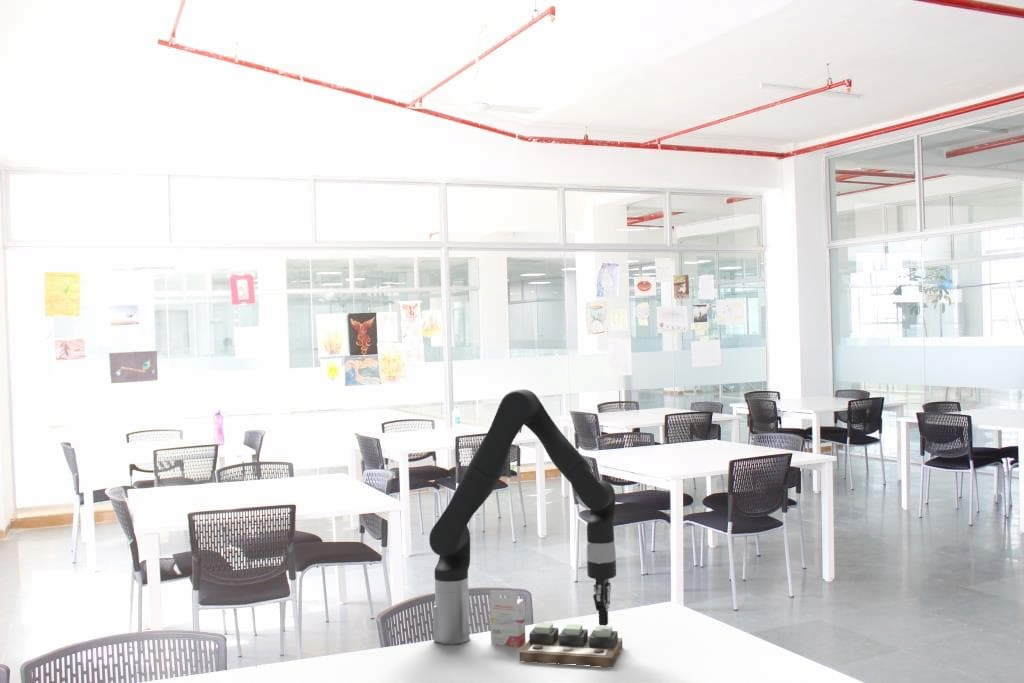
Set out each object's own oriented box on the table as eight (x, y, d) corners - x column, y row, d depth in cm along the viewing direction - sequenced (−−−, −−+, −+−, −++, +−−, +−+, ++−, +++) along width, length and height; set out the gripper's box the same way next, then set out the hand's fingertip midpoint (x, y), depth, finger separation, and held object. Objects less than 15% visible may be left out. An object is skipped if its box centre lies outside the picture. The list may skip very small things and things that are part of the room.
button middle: (564, 636, 245) (564, 628, 245) (567, 631, 249) (567, 624, 249) (579, 637, 244) (579, 629, 244) (582, 632, 248) (582, 625, 248)
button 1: (534, 634, 247) (534, 627, 247) (538, 630, 251) (538, 622, 251) (549, 635, 246) (549, 627, 246) (553, 630, 250) (552, 623, 250)
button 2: (594, 638, 243) (594, 630, 243) (597, 633, 246) (597, 625, 246) (609, 638, 242) (609, 631, 242) (612, 634, 245) (612, 626, 245)
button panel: (519, 661, 239) (519, 642, 239) (535, 642, 255) (534, 624, 255) (612, 667, 233) (611, 647, 233) (622, 647, 248) (621, 628, 248)
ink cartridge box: (526, 641, 255) (524, 588, 255) (519, 647, 251) (518, 592, 251) (497, 639, 258) (496, 585, 259) (490, 644, 254) (488, 590, 254)
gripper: (591, 552, 251) (594, 616, 251) (582, 563, 239) (584, 631, 239) (619, 553, 249) (621, 618, 249) (611, 564, 237) (613, 632, 237)
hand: (603, 624), depth 244 cm, fingers closed
